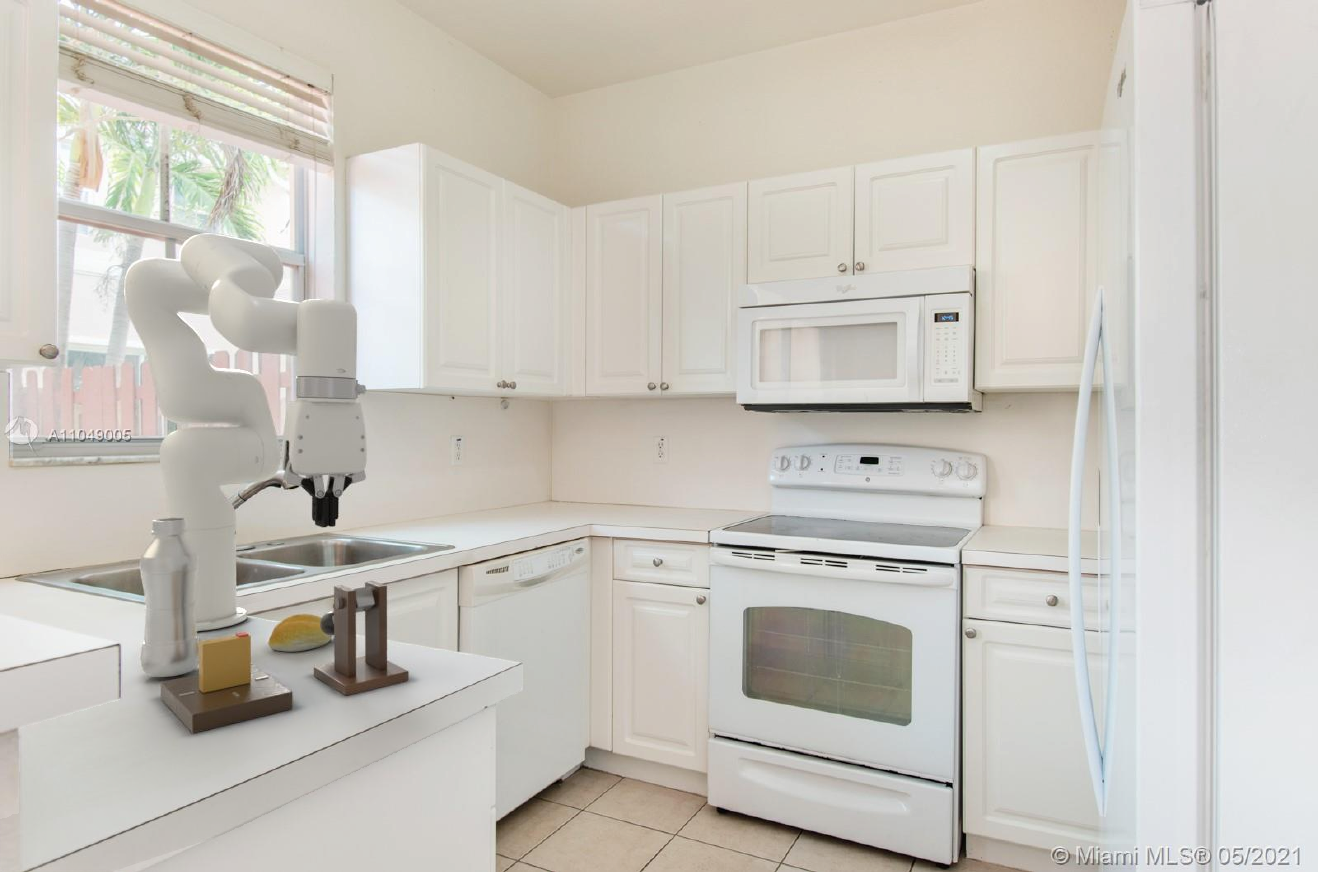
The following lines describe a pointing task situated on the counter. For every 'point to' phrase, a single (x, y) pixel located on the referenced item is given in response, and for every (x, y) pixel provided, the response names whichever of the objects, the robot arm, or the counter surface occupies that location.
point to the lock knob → (224, 662)
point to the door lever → (362, 604)
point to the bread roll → (298, 634)
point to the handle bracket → (346, 668)
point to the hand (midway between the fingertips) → (325, 525)
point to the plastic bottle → (169, 601)
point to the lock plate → (225, 701)
